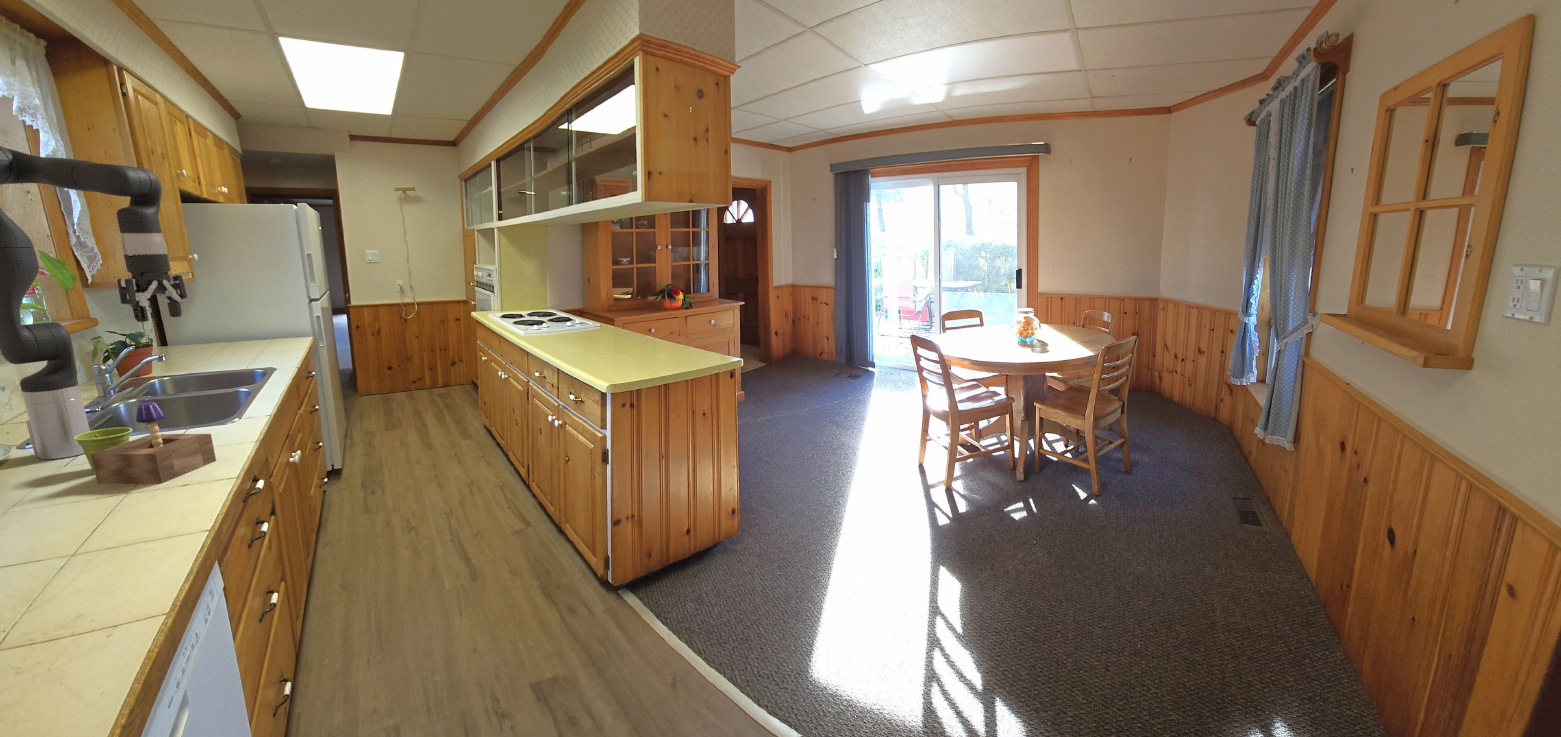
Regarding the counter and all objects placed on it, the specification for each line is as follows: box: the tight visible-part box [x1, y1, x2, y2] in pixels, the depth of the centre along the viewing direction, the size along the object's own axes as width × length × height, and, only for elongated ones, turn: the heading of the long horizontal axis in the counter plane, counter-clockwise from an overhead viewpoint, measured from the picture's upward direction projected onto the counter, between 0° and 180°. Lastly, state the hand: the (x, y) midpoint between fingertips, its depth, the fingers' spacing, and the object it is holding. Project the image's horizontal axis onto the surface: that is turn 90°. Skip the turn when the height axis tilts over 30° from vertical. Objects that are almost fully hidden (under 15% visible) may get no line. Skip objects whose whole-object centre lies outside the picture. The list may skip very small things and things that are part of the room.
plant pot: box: [74, 427, 133, 472], centre depth 146 cm, size 9×9×9 cm
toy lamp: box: [135, 401, 166, 448], centre depth 143 cm, size 5×5×17 cm
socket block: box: [91, 433, 217, 484], centre depth 144 cm, size 14×14×7 cm
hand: (159, 319), depth 152 cm, fingers open, 8 cm apart
